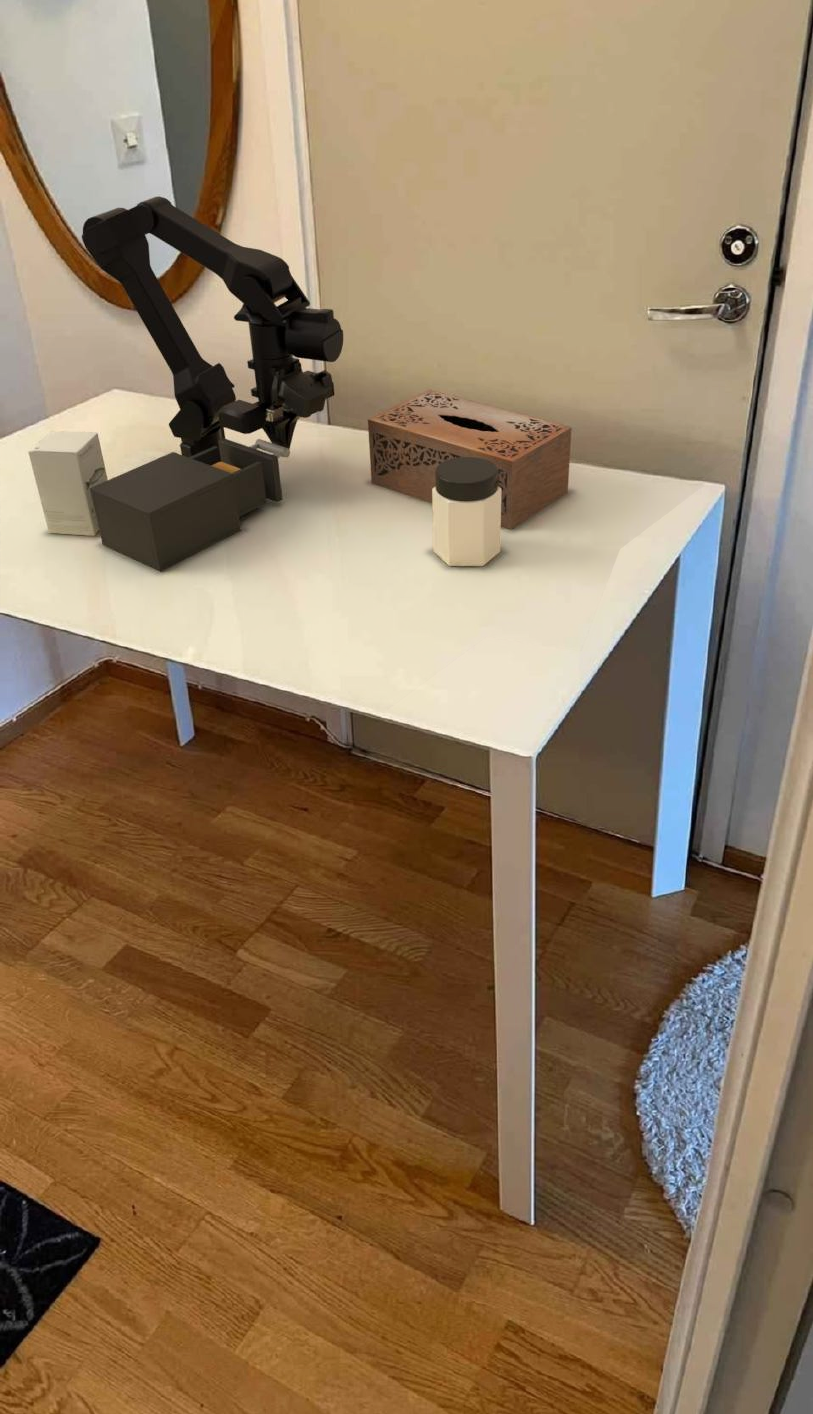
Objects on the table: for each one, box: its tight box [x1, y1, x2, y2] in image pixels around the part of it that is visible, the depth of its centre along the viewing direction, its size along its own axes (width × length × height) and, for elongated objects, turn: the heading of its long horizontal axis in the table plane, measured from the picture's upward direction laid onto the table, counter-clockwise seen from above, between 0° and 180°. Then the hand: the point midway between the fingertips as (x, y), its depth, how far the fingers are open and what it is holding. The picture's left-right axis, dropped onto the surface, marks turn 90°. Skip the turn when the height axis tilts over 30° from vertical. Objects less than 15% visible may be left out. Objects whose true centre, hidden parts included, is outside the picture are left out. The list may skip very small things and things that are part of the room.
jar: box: [431, 457, 502, 567], centre depth 140 cm, size 9×8×12 cm
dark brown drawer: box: [189, 437, 291, 518], centre depth 155 cm, size 18×11×7 cm, turn 140°
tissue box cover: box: [367, 389, 573, 530], centre depth 157 cm, size 26×14×10 cm, turn 50°
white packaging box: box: [27, 430, 109, 537], centre depth 151 cm, size 7×7×13 cm
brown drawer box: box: [90, 451, 242, 572], centre depth 148 cm, size 15×13×9 cm
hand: (283, 456), depth 161 cm, fingers closed
